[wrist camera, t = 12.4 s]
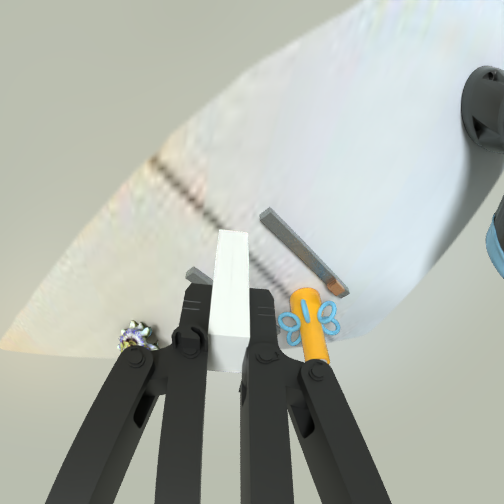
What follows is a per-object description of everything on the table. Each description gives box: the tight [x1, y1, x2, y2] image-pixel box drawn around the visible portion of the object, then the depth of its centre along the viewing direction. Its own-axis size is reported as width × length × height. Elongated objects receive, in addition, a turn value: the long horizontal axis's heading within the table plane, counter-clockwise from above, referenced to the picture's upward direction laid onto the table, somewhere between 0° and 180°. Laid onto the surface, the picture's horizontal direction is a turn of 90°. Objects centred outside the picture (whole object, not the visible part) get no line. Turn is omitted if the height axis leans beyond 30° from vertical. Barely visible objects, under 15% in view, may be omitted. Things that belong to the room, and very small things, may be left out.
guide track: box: [186, 207, 350, 335], centre depth 52 cm, size 24×19×2 cm
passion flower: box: [117, 320, 159, 353], centre depth 60 cm, size 11×11×12 cm
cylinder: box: [278, 288, 340, 364], centre depth 51 cm, size 12×10×15 cm
